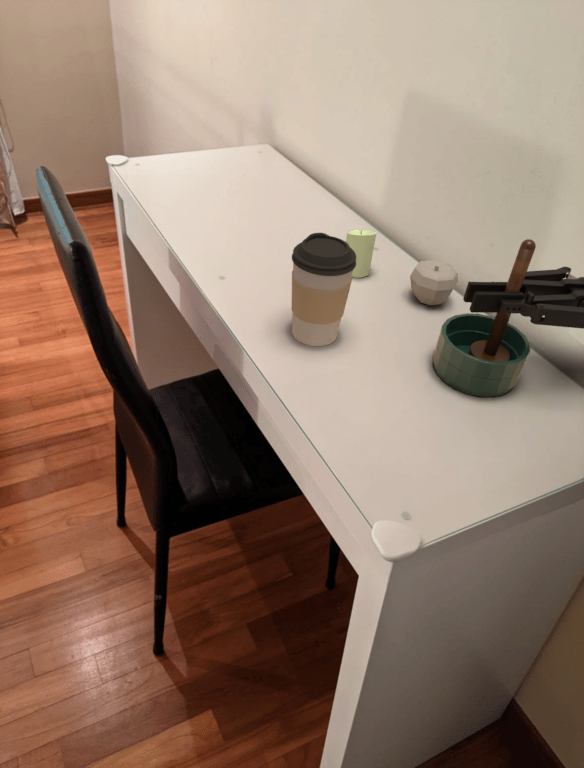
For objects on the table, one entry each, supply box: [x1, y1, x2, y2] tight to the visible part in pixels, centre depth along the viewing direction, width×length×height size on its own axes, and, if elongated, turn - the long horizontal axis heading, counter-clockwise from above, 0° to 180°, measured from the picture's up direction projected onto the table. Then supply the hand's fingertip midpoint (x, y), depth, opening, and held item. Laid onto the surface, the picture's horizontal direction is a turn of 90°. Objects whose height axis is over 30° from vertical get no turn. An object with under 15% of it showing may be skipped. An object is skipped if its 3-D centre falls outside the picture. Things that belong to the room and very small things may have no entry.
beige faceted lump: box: [409, 259, 459, 306], centre depth 102 cm, size 8×8×7 cm
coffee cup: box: [291, 232, 356, 347], centre depth 88 cm, size 9×9×15 cm
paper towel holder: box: [468, 238, 537, 362], centre depth 82 cm, size 6×6×19 cm
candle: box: [345, 229, 377, 279], centre depth 107 cm, size 5×5×8 cm
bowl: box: [432, 312, 531, 398], centre depth 87 cm, size 12×12×6 cm
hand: (470, 297), depth 80 cm, fingers closed on paper towel holder, 2 cm apart
